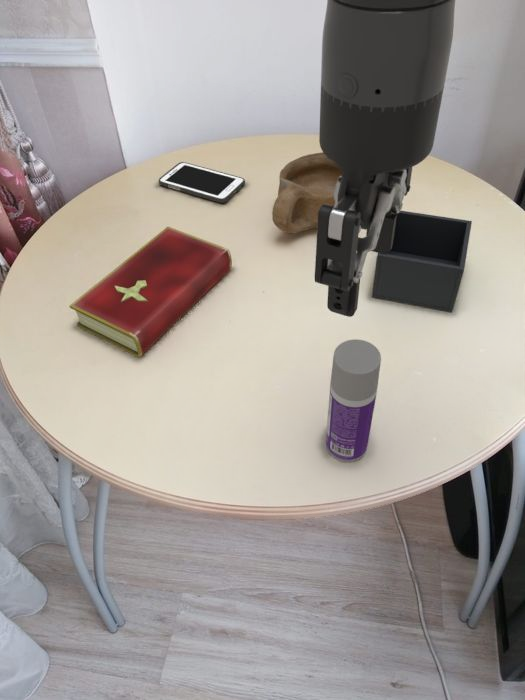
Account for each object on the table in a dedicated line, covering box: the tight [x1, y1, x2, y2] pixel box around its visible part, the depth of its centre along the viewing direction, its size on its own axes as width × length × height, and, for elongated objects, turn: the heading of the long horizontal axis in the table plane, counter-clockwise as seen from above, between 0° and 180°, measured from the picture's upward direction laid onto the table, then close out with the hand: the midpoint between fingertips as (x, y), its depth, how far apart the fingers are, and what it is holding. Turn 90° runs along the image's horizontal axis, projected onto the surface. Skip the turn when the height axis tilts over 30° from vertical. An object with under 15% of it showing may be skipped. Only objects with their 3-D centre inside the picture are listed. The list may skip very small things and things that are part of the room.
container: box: [325, 339, 382, 463], centre depth 58 cm, size 5×5×15 cm
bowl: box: [271, 151, 343, 234], centre depth 91 cm, size 18×14×10 cm
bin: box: [371, 209, 473, 313], centre depth 80 cm, size 11×11×8 cm
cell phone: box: [158, 161, 246, 204], centre depth 102 cm, size 8×15×1 cm, turn 60°
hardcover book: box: [69, 226, 233, 359], centre depth 81 cm, size 12×21×4 cm, turn 147°
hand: (361, 279), depth 46 cm, fingers open, 8 cm apart
